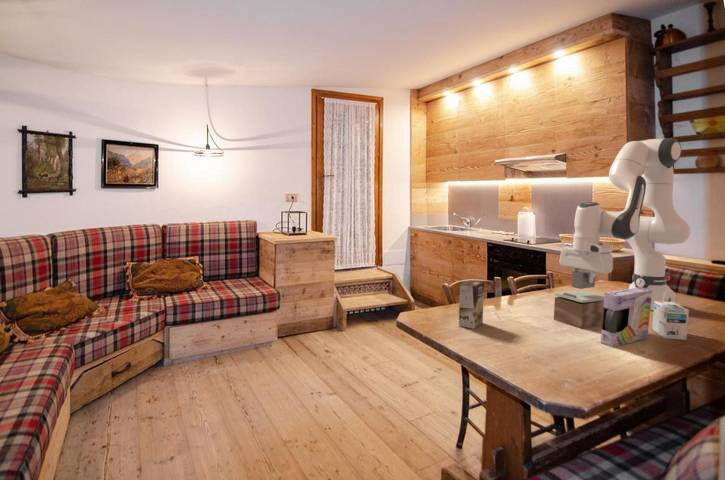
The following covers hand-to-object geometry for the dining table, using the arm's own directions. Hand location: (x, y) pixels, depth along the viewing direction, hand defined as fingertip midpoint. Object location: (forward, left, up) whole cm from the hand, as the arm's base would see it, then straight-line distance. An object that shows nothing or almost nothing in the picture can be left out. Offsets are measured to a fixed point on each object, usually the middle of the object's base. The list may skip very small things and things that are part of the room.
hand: (583, 280), depth 165 cm
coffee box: (+41, -16, -16) cm, 47 cm away
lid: (0, 0, -6) cm, 6 cm away
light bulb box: (-14, +24, -16) cm, 32 cm away
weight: (0, 0, -2) cm, 2 cm away
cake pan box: (+7, +21, -16) cm, 28 cm away
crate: (0, 0, -16) cm, 16 cm away
